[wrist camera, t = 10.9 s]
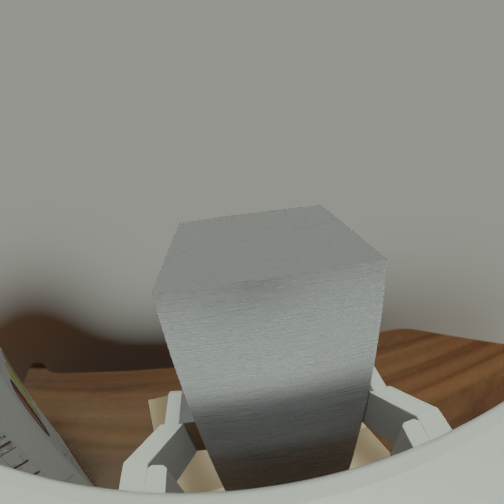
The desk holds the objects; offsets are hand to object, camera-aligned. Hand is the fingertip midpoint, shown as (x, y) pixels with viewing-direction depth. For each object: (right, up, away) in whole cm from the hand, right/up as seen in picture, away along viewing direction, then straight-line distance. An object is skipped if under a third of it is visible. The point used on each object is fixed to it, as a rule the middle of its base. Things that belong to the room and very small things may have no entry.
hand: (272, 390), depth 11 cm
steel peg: (+1, -7, +2) cm, 8 cm away
